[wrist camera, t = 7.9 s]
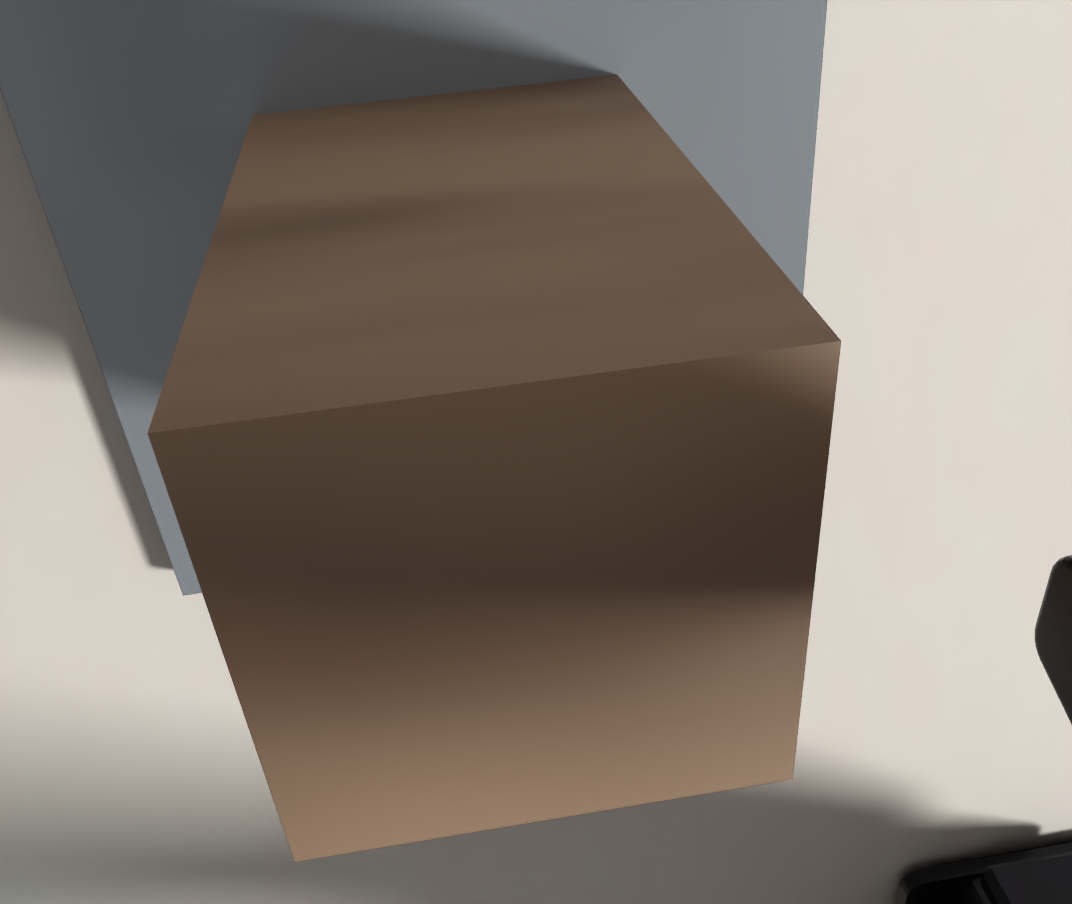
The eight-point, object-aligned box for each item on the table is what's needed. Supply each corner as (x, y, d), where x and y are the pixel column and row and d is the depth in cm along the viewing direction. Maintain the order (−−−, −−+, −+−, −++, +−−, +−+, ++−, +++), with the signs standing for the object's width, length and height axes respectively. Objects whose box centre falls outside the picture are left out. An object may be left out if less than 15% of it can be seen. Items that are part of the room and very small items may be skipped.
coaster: (774, 488, 19) (784, 507, 19) (187, 573, 18) (183, 595, 18) (825, -198, 13) (843, -196, 13) (-54, -115, 12) (-71, -110, 12)
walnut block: (625, 385, 17) (792, 778, 10) (322, 426, 16) (294, 862, 10) (617, 75, 14) (840, 340, 7) (251, 115, 14) (146, 433, 7)
